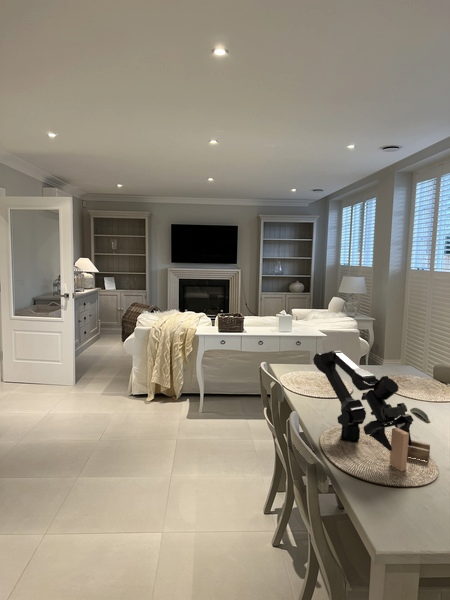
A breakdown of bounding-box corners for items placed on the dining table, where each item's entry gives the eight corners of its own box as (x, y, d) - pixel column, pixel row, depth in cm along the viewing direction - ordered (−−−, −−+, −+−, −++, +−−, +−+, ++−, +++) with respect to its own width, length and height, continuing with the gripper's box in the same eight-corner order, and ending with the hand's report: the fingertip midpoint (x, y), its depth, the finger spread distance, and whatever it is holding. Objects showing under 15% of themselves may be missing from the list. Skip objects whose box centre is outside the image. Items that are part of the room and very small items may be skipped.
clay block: (389, 464, 144) (392, 428, 143) (394, 463, 145) (397, 427, 144) (401, 471, 139) (403, 434, 138) (406, 470, 140) (408, 433, 139)
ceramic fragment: (409, 411, 196) (409, 403, 195) (419, 411, 196) (420, 403, 196) (426, 424, 182) (427, 415, 181) (437, 423, 182) (438, 415, 182)
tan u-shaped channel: (394, 454, 151) (394, 444, 151) (397, 446, 158) (398, 436, 158) (427, 462, 146) (428, 452, 145) (429, 453, 153) (430, 443, 152)
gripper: (371, 398, 140) (395, 443, 131) (411, 392, 148) (436, 434, 139) (353, 413, 148) (375, 456, 139) (392, 406, 156) (415, 446, 147)
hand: (401, 448), depth 141 cm, fingers open, 9 cm apart
